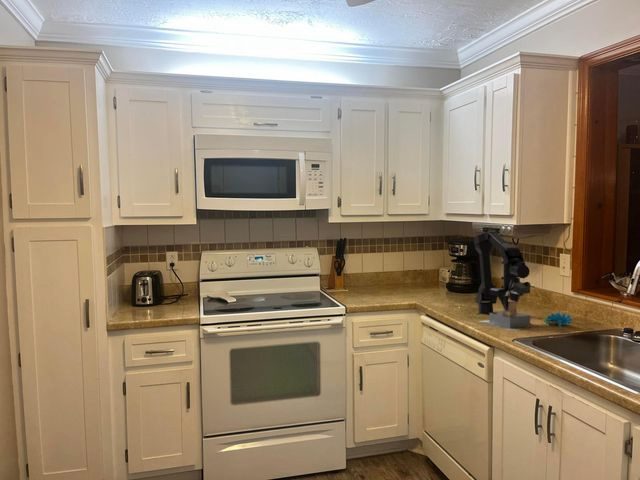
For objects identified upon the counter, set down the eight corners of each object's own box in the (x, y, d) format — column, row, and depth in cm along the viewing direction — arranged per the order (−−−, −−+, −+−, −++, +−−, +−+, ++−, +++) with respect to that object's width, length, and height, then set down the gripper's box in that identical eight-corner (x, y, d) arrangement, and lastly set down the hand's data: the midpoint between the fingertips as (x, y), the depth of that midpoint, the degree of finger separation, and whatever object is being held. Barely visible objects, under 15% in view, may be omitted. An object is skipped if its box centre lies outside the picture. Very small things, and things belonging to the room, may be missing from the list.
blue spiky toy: (572, 323, 211) (570, 310, 205) (573, 335, 207) (571, 322, 201) (545, 324, 216) (542, 311, 210) (545, 335, 213) (543, 323, 206)
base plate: (477, 323, 219) (477, 321, 219) (507, 319, 226) (507, 317, 226) (511, 334, 201) (511, 331, 200) (542, 329, 208) (542, 326, 208)
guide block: (489, 322, 216) (489, 312, 216) (509, 319, 221) (509, 309, 221) (509, 328, 205) (510, 317, 205) (530, 325, 210) (530, 314, 210)
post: (502, 321, 214) (502, 300, 214) (509, 320, 216) (509, 299, 215) (509, 323, 210) (509, 302, 210) (516, 322, 212) (517, 301, 212)
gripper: (508, 279, 201) (507, 315, 202) (540, 275, 208) (539, 311, 209) (489, 275, 211) (488, 310, 212) (520, 272, 218) (519, 306, 220)
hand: (509, 309), depth 213 cm, fingers closed on post, 4 cm apart
